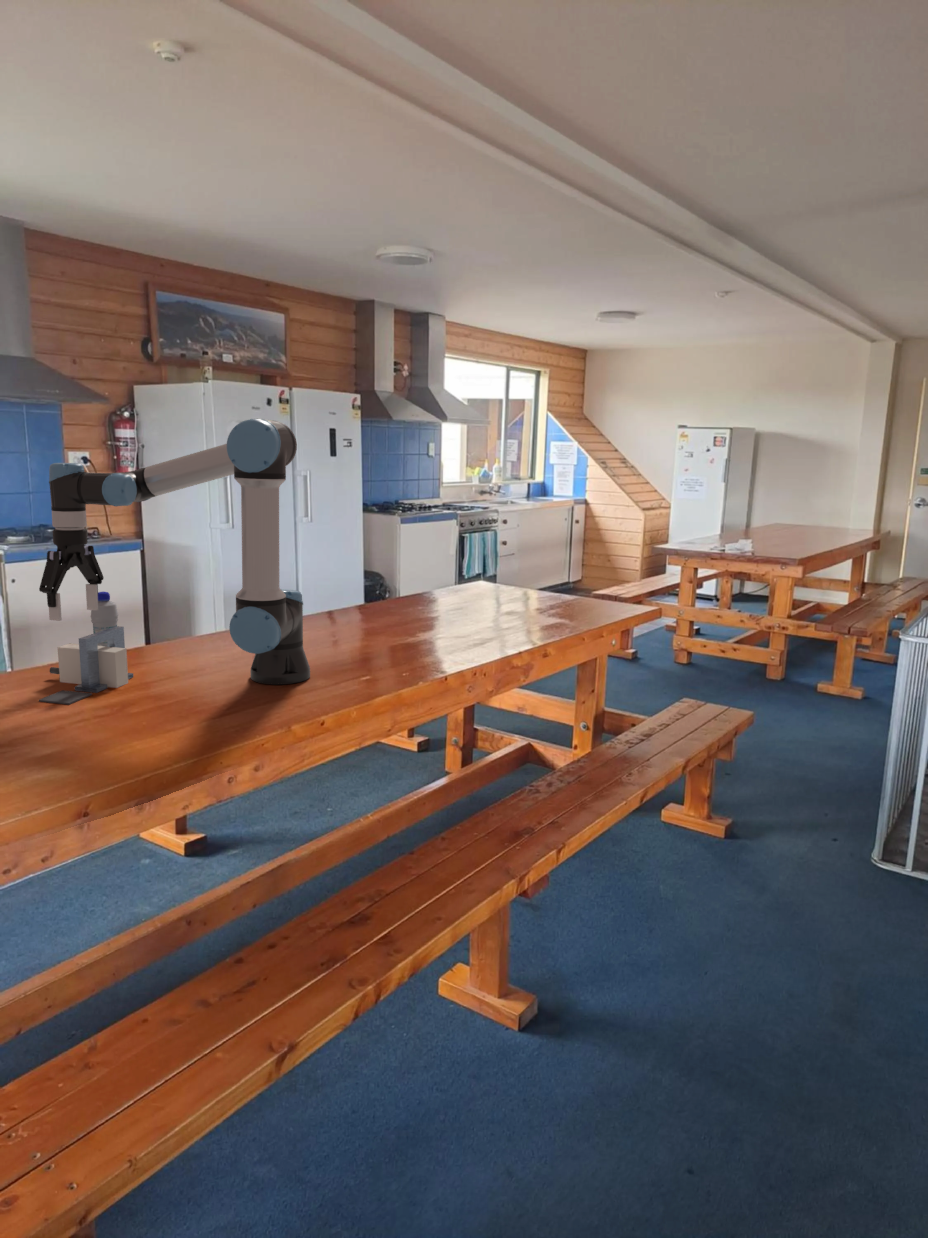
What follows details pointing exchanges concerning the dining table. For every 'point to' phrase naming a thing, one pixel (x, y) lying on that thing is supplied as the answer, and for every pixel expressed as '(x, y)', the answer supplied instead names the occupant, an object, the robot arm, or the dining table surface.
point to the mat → (65, 697)
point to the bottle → (104, 615)
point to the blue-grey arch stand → (96, 657)
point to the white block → (109, 665)
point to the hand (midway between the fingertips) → (74, 615)
